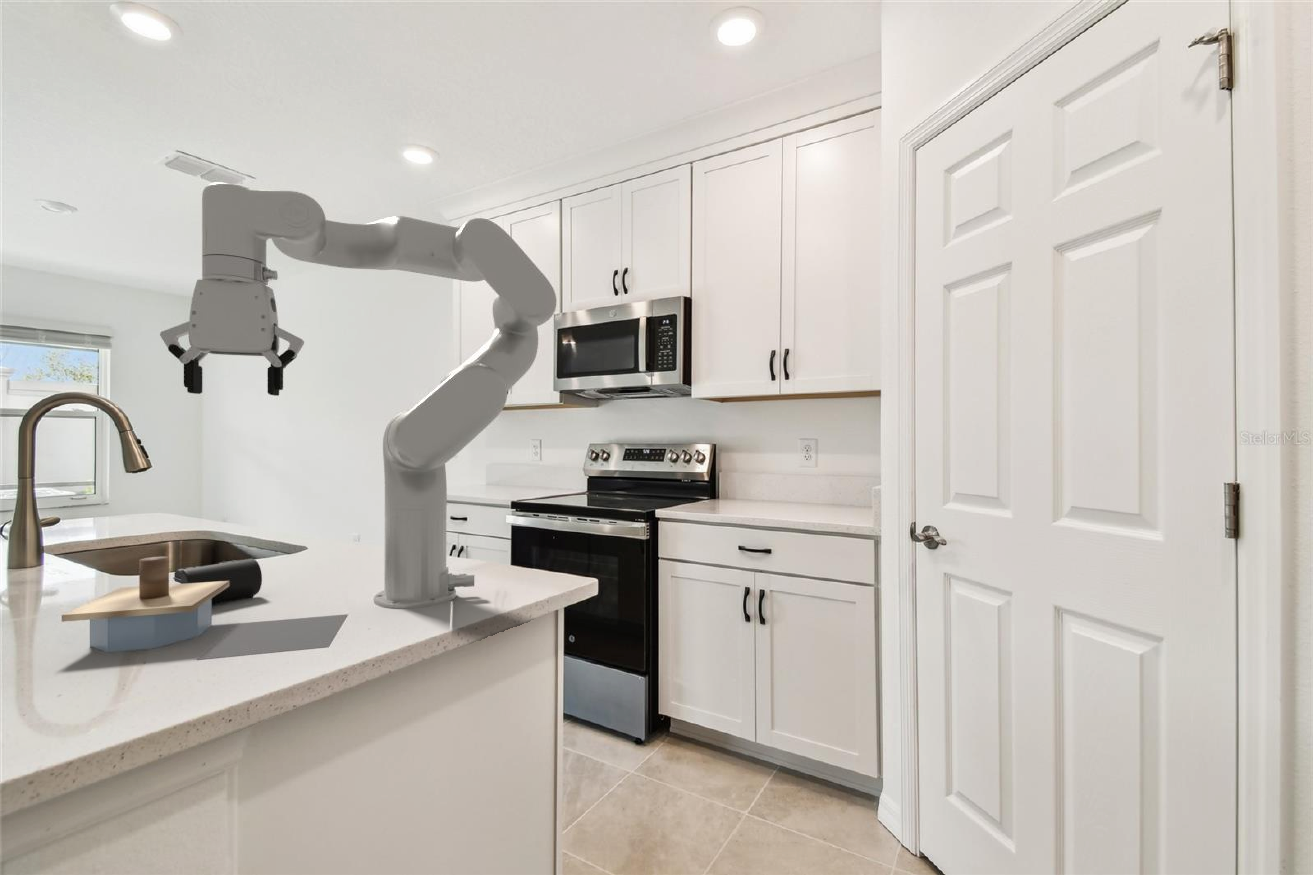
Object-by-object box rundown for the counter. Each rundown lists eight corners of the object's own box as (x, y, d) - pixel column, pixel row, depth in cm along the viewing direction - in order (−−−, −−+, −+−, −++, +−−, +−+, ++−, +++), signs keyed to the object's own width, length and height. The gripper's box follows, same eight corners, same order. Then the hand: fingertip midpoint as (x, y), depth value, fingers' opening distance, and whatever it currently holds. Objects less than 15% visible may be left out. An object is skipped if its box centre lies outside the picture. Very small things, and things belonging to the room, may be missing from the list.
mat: (347, 618, 88) (347, 614, 88) (328, 651, 75) (328, 646, 75) (238, 627, 84) (238, 623, 83) (196, 664, 70) (196, 659, 70)
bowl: (220, 621, 86) (220, 587, 86) (186, 649, 75) (186, 610, 75) (124, 629, 82) (123, 594, 82) (73, 659, 71) (73, 619, 71)
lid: (229, 586, 87) (229, 547, 87) (191, 611, 75) (191, 566, 74) (120, 593, 83) (120, 552, 83) (61, 621, 70) (61, 573, 70)
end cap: (189, 617, 88) (189, 572, 88) (170, 609, 92) (170, 566, 92) (262, 601, 97) (262, 560, 97) (242, 594, 101) (242, 555, 101)
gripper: (309, 286, 91) (309, 397, 91) (174, 276, 85) (174, 394, 86) (296, 274, 84) (296, 394, 84) (148, 262, 78) (148, 390, 78)
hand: (234, 394), depth 85 cm, fingers open, 9 cm apart
